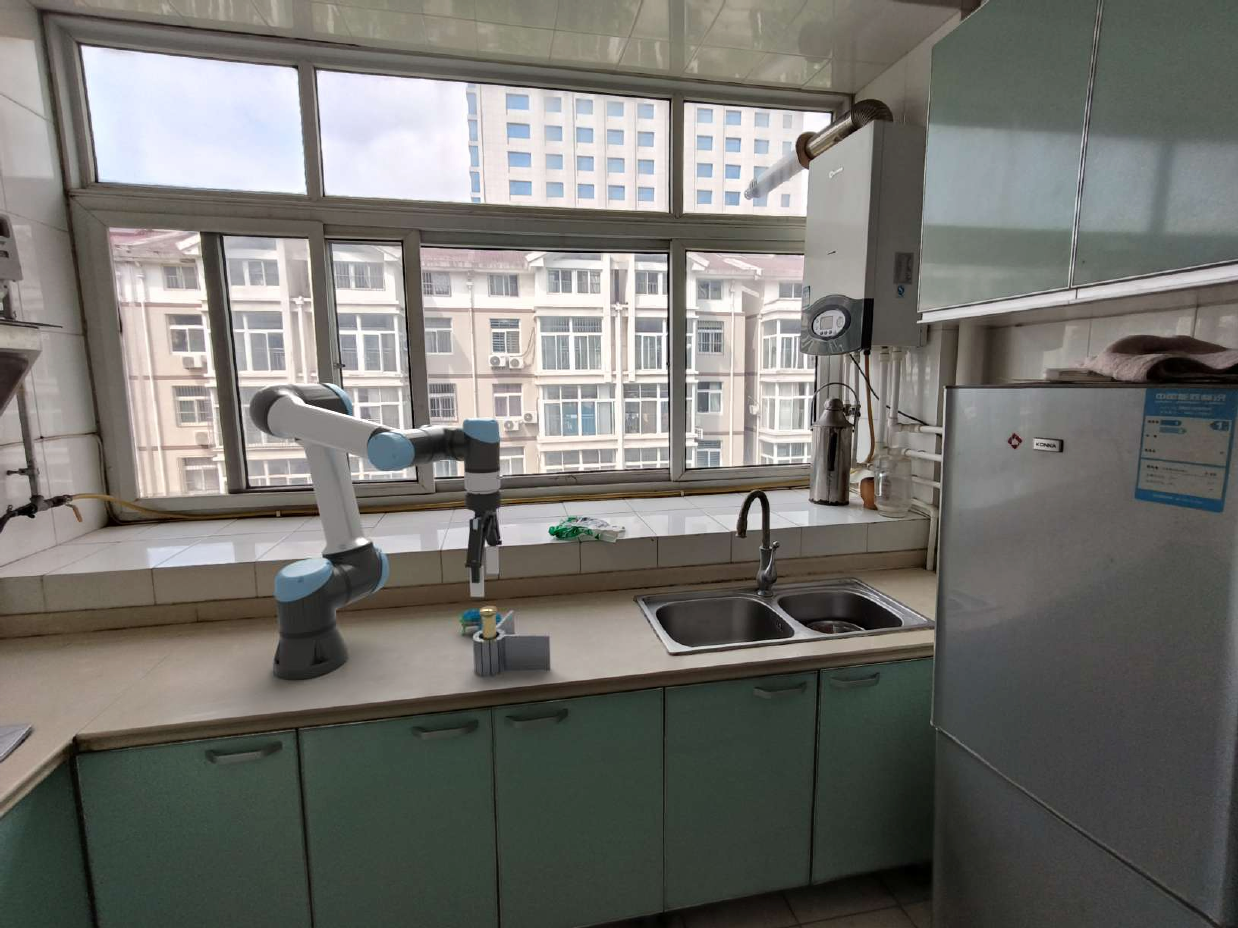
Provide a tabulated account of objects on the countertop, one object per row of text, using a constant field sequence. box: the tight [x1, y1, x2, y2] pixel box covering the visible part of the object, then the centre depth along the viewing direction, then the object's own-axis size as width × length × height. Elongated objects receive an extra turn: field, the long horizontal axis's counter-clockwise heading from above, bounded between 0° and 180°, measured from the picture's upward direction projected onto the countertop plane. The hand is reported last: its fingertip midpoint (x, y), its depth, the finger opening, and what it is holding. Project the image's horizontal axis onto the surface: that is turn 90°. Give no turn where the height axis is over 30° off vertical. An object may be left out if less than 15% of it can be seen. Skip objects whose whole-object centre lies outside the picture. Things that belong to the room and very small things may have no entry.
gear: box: [458, 608, 502, 636], centre depth 147 cm, size 11×6×10 cm
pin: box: [478, 605, 498, 640], centre depth 129 cm, size 4×4×14 cm
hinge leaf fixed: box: [472, 629, 551, 678], centre depth 129 cm, size 17×7×8 cm, turn 89°
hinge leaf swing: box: [496, 610, 516, 634], centre depth 138 cm, size 10×1×8 cm, turn 169°
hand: (485, 584), depth 127 cm, fingers open, 13 cm apart
